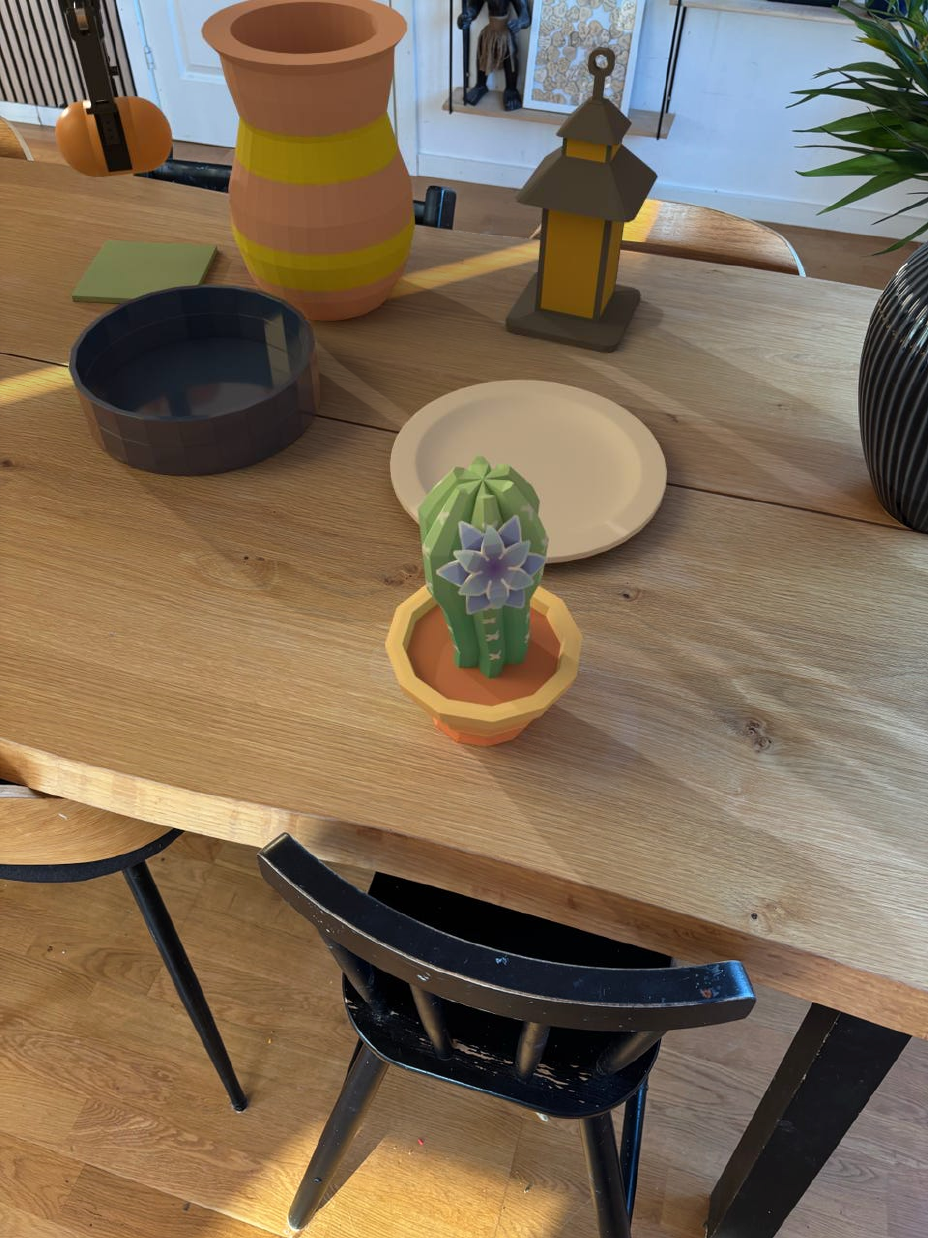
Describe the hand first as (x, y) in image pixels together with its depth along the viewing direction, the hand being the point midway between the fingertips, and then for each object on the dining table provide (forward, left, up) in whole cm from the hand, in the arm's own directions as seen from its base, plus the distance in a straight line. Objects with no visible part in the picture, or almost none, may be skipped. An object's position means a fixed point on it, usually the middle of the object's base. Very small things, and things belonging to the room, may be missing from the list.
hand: (118, 153), depth 115 cm
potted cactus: (+47, -65, -16) cm, 82 cm away
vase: (+24, -1, -16) cm, 29 cm away
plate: (+50, -36, -16) cm, 64 cm away
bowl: (+14, -26, -15) cm, 33 cm away
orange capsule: (0, 0, -2) cm, 2 cm away
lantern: (+55, -4, -16) cm, 57 cm away
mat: (0, 0, -15) cm, 15 cm away
